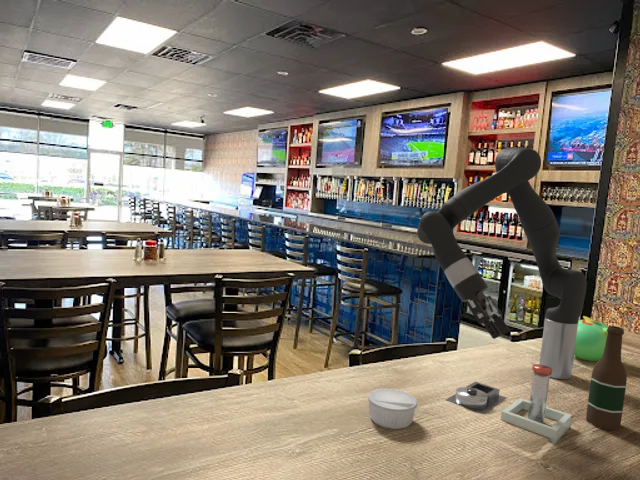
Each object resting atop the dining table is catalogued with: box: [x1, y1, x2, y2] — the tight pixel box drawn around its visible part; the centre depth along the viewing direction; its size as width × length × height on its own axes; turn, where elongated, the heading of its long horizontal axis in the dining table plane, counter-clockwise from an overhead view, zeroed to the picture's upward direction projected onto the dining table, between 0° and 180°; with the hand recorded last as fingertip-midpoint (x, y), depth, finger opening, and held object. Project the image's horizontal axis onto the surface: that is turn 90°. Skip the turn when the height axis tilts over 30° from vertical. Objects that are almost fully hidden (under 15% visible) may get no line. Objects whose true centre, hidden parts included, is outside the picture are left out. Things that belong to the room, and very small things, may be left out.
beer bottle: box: [585, 325, 628, 431], centre depth 116 cm, size 8×8×24 cm
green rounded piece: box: [574, 315, 624, 362], centre depth 168 cm, size 18×17×15 cm
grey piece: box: [445, 381, 507, 415], centre depth 124 cm, size 15×10×4 cm, turn 138°
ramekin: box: [367, 387, 418, 430], centre depth 110 cm, size 11×11×5 cm
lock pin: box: [527, 363, 552, 424], centre depth 113 cm, size 4×4×13 cm
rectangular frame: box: [500, 397, 573, 445], centre depth 113 cm, size 12×12×3 cm
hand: (502, 335), depth 119 cm, fingers open, 8 cm apart
